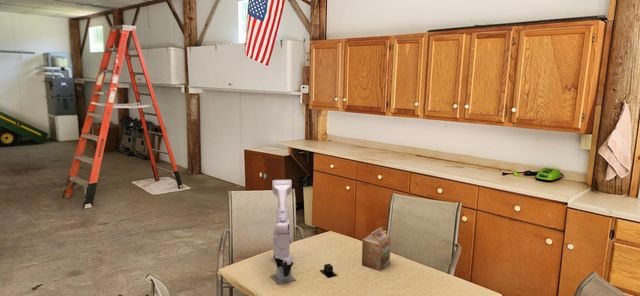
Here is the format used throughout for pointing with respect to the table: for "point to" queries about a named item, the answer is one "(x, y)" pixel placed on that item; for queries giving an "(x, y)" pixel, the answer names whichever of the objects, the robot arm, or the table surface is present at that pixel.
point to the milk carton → (376, 250)
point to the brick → (282, 274)
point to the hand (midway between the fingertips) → (283, 273)
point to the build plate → (328, 271)
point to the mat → (282, 280)
